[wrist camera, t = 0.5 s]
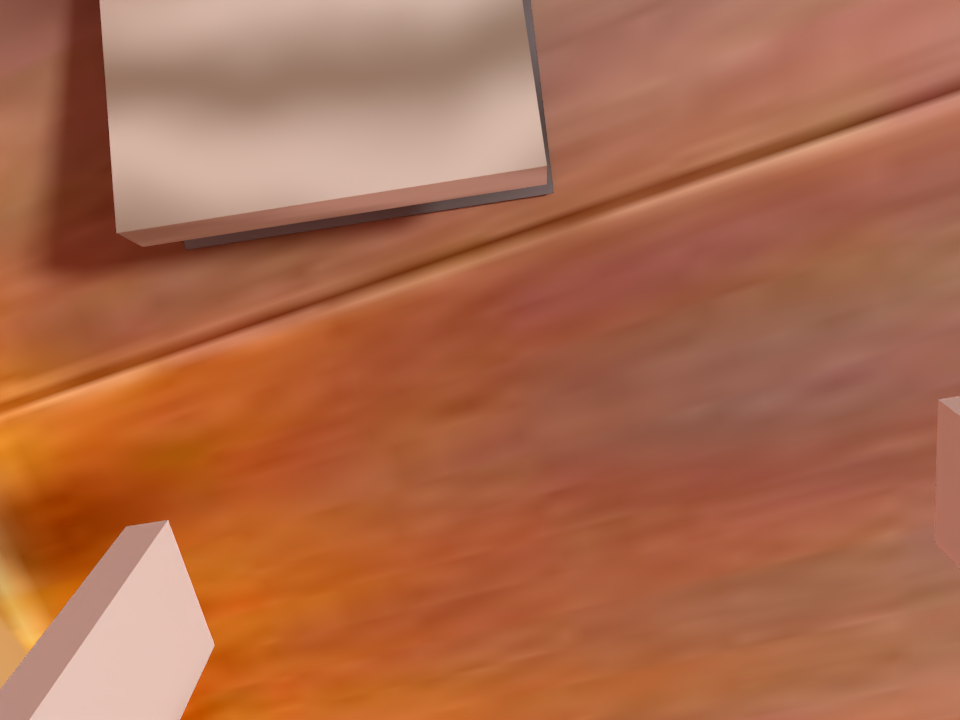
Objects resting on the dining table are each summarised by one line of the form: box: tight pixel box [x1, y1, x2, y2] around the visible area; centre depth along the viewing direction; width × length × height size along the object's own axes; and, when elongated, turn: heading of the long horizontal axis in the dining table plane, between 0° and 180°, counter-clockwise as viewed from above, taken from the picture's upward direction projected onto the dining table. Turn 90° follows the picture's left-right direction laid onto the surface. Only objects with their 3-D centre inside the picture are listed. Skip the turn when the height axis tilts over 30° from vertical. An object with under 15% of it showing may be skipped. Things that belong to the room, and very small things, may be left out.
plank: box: [100, 0, 547, 247], centre depth 28 cm, size 10×15×2 cm, turn 98°
